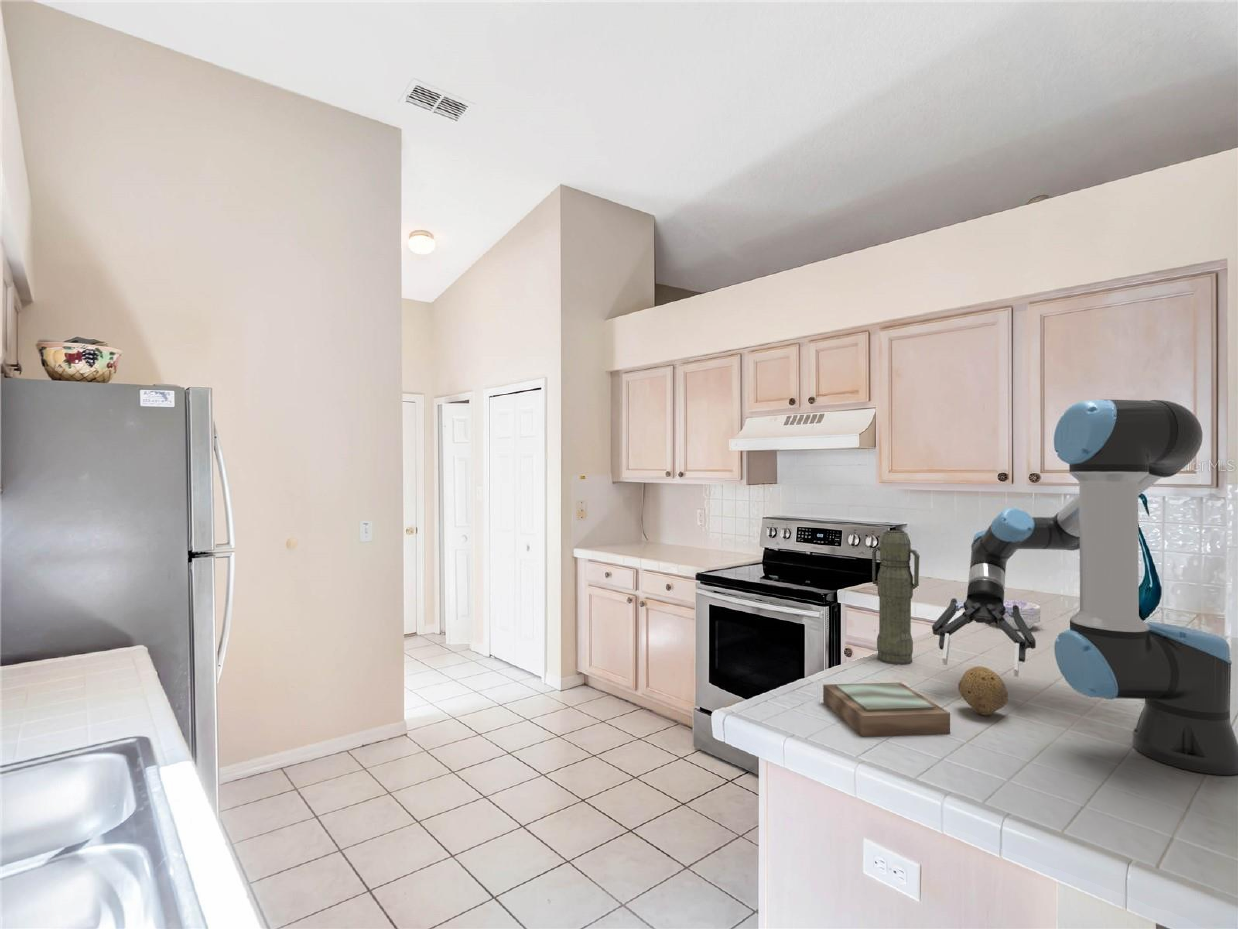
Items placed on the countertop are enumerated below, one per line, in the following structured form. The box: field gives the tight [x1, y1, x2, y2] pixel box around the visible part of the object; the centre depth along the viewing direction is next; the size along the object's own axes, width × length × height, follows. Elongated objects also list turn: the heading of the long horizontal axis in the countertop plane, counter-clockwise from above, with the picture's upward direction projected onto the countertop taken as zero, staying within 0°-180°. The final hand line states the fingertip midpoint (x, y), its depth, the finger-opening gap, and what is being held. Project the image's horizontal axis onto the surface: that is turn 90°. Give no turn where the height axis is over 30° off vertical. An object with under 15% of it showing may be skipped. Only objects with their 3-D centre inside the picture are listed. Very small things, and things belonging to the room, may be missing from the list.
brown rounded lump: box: [957, 666, 1009, 716], centre depth 135 cm, size 9×9×10 cm
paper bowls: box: [1003, 599, 1041, 631], centre depth 211 cm, size 15×15×8 cm
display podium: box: [822, 681, 951, 738], centre depth 133 cm, size 18×18×4 cm
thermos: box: [871, 529, 920, 666], centre depth 173 cm, size 9×12×35 cm
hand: (979, 667), depth 139 cm, fingers open, 13 cm apart
